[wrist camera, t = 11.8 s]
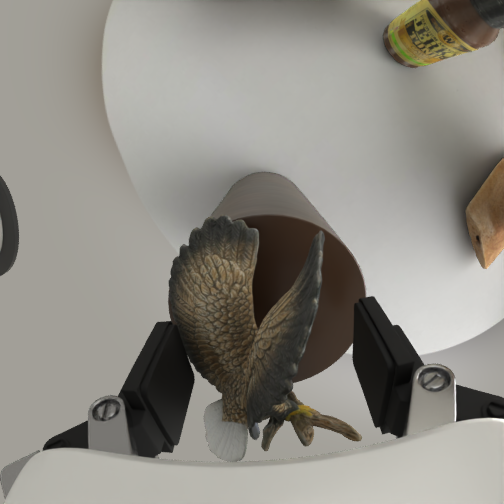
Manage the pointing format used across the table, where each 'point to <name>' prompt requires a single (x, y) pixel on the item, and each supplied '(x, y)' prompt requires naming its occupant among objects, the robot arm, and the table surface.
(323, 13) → the table surface
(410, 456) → the robot arm
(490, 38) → the sauce bottle
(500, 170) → the tan boot-shaped piece
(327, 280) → the stand
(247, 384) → the eagle figurine
